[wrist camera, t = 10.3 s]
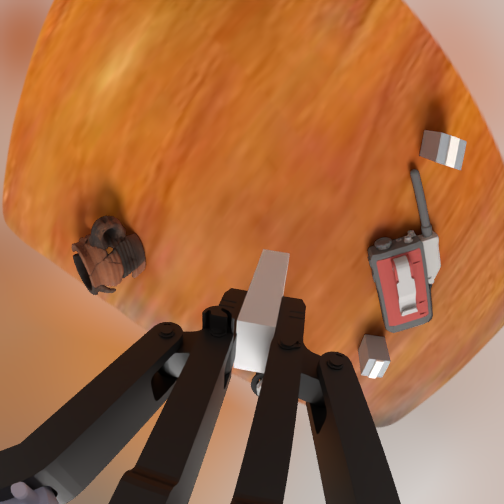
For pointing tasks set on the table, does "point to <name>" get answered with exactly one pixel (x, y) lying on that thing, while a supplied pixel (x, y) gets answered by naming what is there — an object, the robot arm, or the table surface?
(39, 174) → the table surface
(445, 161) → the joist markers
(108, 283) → the pottery mug
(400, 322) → the walkie-talkie
